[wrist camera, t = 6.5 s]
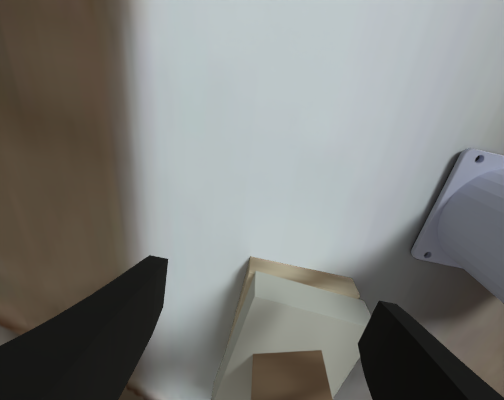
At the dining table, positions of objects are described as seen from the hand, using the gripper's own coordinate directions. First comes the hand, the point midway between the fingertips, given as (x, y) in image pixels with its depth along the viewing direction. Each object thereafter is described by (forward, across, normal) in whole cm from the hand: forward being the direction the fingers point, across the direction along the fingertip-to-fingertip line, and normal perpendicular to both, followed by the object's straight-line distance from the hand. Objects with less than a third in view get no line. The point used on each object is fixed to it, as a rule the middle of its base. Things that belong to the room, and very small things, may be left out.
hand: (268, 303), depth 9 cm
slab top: (+8, -4, +11) cm, 14 cm away
